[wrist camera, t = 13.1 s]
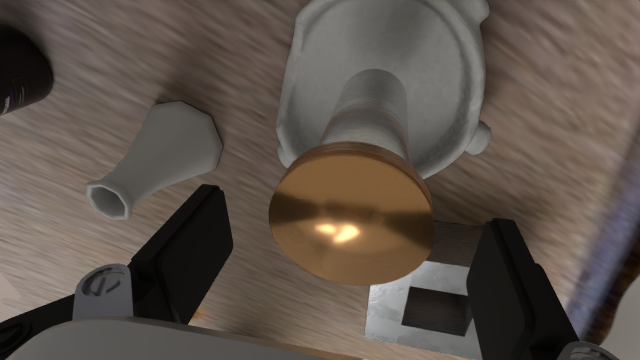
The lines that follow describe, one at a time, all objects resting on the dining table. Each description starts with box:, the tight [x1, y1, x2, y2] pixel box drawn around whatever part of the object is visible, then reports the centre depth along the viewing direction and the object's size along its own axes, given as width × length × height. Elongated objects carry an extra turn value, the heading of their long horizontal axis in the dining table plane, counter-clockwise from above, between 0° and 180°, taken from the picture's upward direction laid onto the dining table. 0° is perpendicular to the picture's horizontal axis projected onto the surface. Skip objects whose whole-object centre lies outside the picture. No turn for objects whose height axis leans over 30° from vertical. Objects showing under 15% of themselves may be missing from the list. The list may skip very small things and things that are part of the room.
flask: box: [86, 101, 223, 220], centre depth 26 cm, size 7×7×10 cm
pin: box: [269, 69, 435, 286], centre depth 15 cm, size 5×5×11 cm
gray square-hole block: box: [364, 221, 484, 360], centre depth 30 cm, size 12×12×5 cm
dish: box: [276, 0, 491, 179], centre depth 22 cm, size 14×14×5 cm
